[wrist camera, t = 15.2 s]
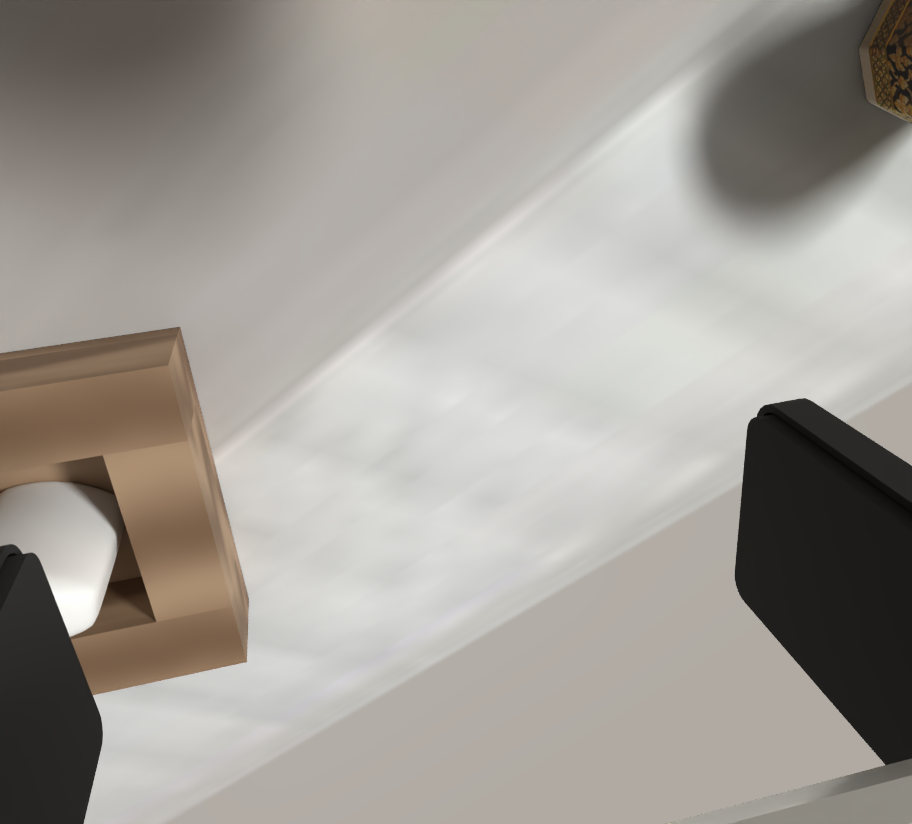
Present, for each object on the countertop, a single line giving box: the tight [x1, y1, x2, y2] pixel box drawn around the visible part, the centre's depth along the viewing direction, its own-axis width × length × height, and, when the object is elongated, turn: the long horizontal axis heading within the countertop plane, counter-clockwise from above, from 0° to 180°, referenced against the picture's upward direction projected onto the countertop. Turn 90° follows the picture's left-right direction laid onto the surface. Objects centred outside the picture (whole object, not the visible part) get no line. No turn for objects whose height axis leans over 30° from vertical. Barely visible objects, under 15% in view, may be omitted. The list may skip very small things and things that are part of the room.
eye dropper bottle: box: [0, 481, 124, 637], centre depth 33 cm, size 4×6×12 cm
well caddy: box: [0, 327, 249, 695], centre depth 37 cm, size 16×14×5 cm
